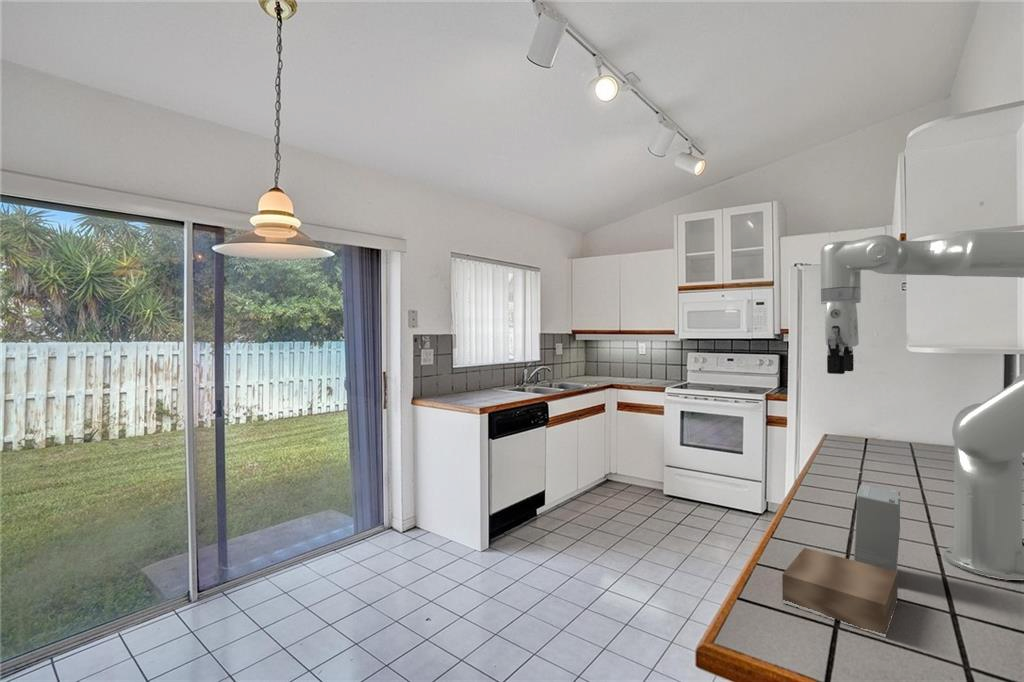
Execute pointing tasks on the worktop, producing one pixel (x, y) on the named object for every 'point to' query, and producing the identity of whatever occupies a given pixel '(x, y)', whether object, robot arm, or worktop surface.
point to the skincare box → (877, 526)
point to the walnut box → (842, 589)
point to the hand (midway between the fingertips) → (840, 372)
